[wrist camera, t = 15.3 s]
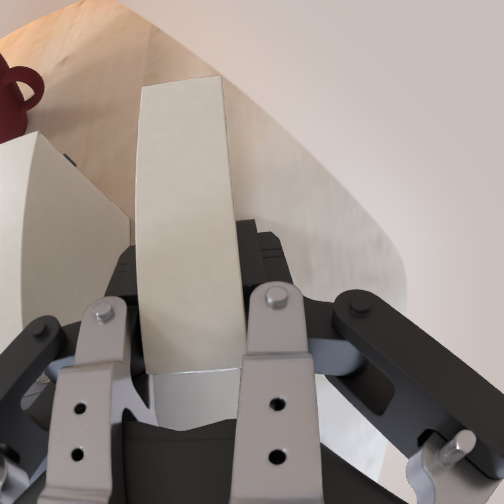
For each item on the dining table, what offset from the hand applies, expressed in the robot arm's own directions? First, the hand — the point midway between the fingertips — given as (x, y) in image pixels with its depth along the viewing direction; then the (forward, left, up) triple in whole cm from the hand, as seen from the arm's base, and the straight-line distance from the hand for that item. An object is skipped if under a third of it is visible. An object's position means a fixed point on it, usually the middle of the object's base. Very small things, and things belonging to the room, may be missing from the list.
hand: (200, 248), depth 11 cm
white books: (-9, -4, -9) cm, 14 cm away
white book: (0, 0, -8) cm, 8 cm away
